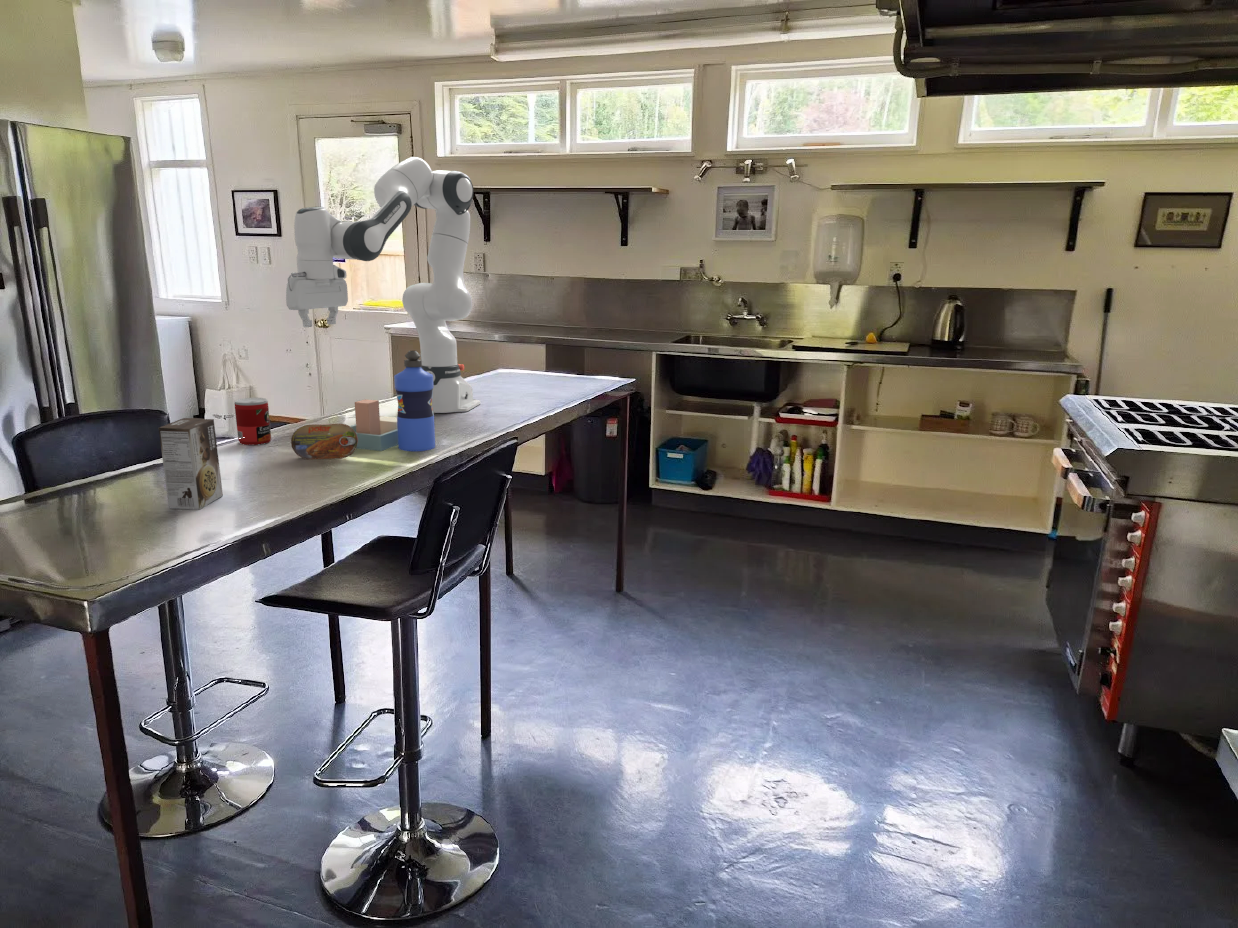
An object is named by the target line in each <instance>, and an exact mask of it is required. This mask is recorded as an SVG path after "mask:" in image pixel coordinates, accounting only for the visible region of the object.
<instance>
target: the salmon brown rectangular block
mask: <svg viewBox="0 0 1238 928" xmlns="http://www.w3.org/2000/svg"><path fill="white" fill-rule="evenodd" d="M354 412H355V414H354V415H355V424H356V432H357V433H364V434H374V435H381V431H380V416H381V415H380V402H379V400H378V399H376V400H375V399H365V398H364V399H362V400H359V401H354Z"/></svg>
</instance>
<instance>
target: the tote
mask: <svg viewBox="0 0 1238 928" xmlns="http://www.w3.org/2000/svg"><path fill="white" fill-rule="evenodd" d="M349 426H350V427H351V428H352V429H353V430H354V431H355V432H356V423H355V424H352V425H349ZM356 434H357V438H358V443H357V447H356V449H359V450H369V451H377V452H383V451H385V450H389V449H391V448H393V447H396V446H398V429H396V430H393V431H390V432H387V433H384V434H381V435H374V434H364V433H357V432H356Z"/></svg>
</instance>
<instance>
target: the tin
mask: <svg viewBox="0 0 1238 928" xmlns="http://www.w3.org/2000/svg"><path fill="white" fill-rule="evenodd" d="M350 426H351V425H348V424H345V423H321V424H320V423H319V424H317V423H316V424H315V423H314V424H305V425H302V426H300V427H299V428H297V429H296V430H295V431H294V432H293V433H292V436H291V438H290V439H291V441H290V443H291V448H292V450H293V452H294V454H296V455H297V456H298V457H300V458H301V459H304V460H309V461H311V460H312V461H313V460H314V461H315V460H335V459H337V460H338V459H345V458H349V456H351V455H352V454H354V452H355V451H356V449H357V448H356V447H357V443H358V438H357V434H356V432H355V431H354V430H353V429H352V428H351V427H350Z"/></svg>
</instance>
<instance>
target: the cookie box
mask: <svg viewBox="0 0 1238 928" xmlns="http://www.w3.org/2000/svg"><path fill="white" fill-rule="evenodd" d="M215 428H216V427H215V420H214V419H213V418H209V419H208V418H198V417H183V418H181V419H178V420H175V421H172V422H170V423H167V424H165V425H163V426H162V425H161V426H160V427H158V428H157V429H158V435H159V441H160V450H161V456H162V464H163V471H164V472H163V473H164V474H163V475H164V481H165V482H164V483H165V488H166V495H167V504H168V508H169V509H172V510H174V509H175V510H176V509H177V510H201V509H203V508H205V507H206V506H208V505H210V504H211V503H213V502H214V501H216V500H218V499H219V498H221V497H223V495H224V494H223V485H222V476H221V469H220V460H219V451H218V443H217V435H216V429H215Z"/></svg>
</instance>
